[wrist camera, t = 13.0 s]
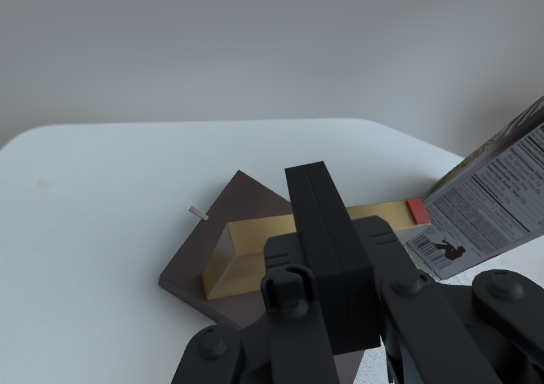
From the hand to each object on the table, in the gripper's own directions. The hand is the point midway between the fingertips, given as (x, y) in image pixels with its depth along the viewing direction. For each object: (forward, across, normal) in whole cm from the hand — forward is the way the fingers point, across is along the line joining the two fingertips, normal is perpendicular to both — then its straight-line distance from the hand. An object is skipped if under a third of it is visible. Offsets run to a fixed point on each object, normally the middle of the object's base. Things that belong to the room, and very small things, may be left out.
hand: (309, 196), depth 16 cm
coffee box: (+17, +12, -15) cm, 26 cm away
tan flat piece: (+9, -2, -10) cm, 14 cm away
